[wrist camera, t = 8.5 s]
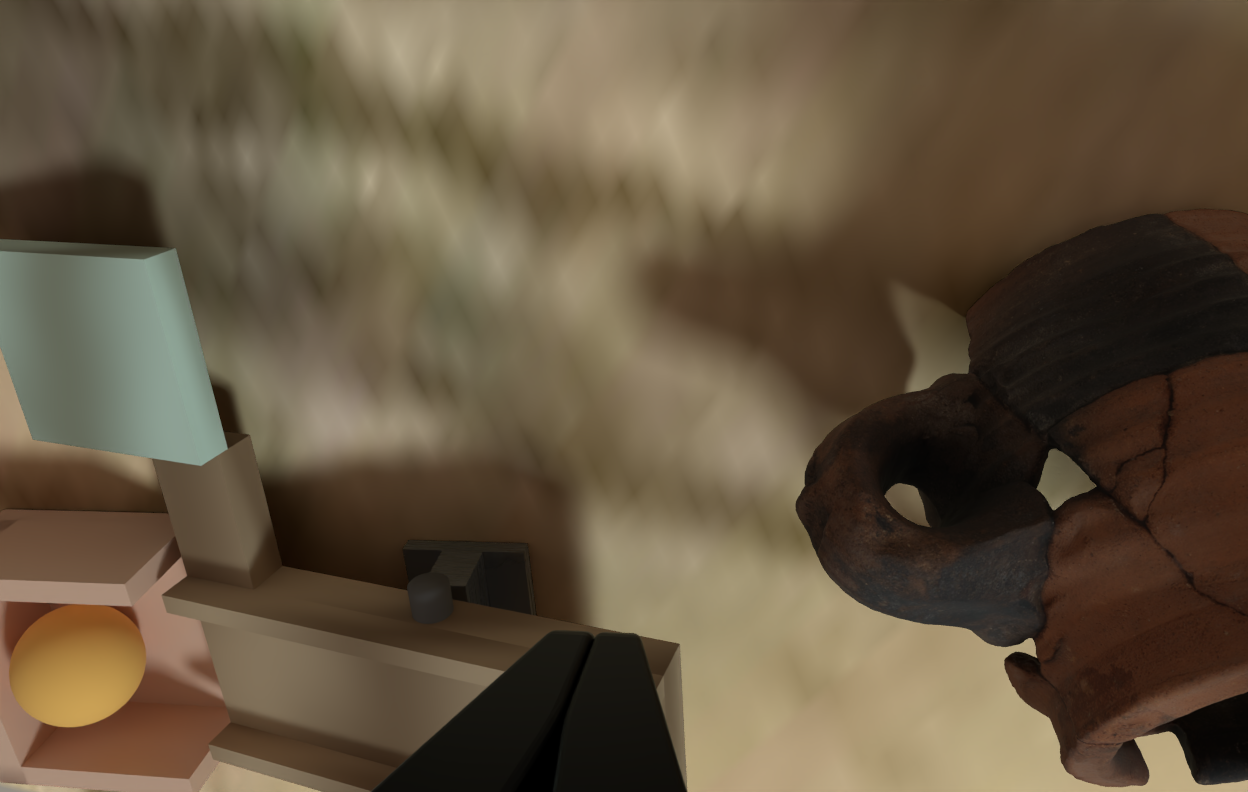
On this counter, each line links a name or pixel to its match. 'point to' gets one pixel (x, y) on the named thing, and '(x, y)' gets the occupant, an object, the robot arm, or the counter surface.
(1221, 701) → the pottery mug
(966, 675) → the counter surface
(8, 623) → the dish
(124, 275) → the lever
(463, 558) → the fulcrum
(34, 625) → the ball
